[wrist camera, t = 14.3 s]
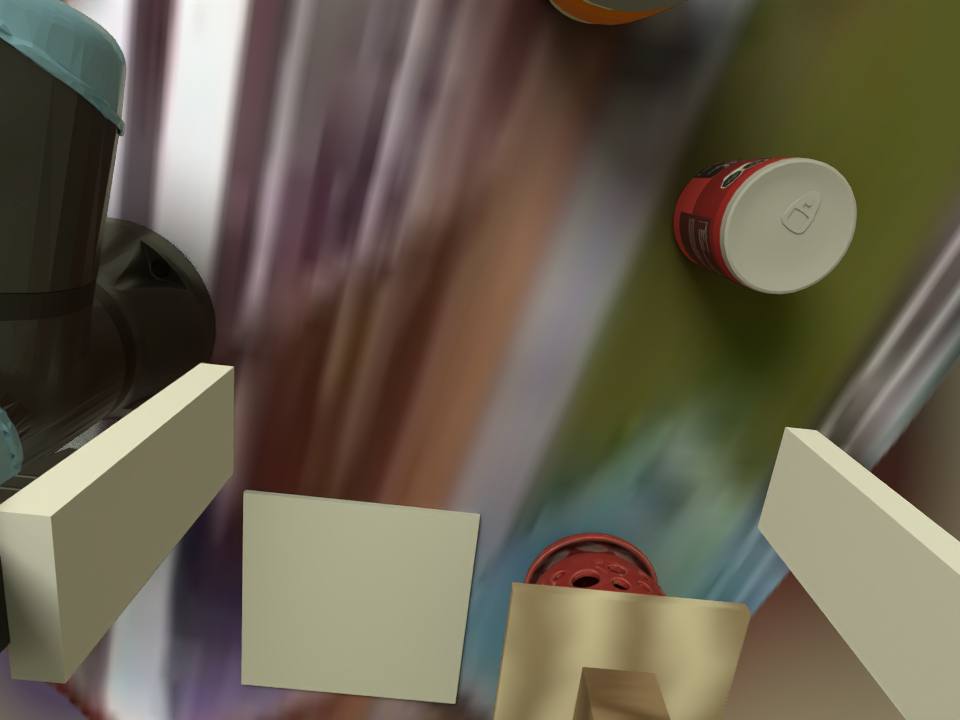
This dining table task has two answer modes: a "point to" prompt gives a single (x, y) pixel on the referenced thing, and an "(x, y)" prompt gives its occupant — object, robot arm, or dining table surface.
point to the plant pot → (595, 565)
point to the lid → (616, 655)
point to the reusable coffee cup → (611, 10)
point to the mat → (355, 596)
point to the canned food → (767, 221)
